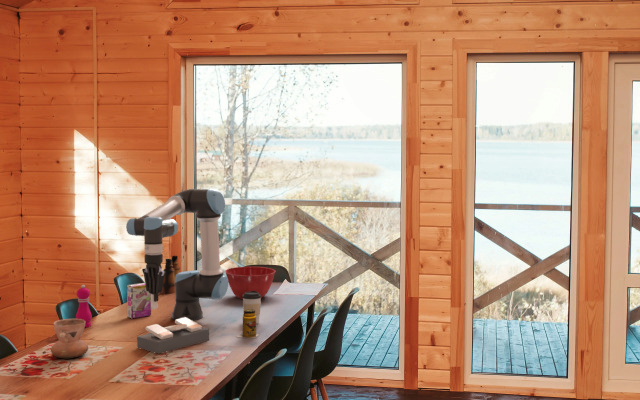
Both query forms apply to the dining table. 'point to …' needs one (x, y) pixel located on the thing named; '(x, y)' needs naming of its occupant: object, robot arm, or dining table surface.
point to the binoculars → (170, 275)
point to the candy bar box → (138, 301)
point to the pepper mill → (84, 306)
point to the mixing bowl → (250, 280)
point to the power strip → (172, 340)
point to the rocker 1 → (159, 331)
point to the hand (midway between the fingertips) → (154, 308)
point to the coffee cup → (252, 302)
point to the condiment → (249, 324)
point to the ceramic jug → (69, 338)
